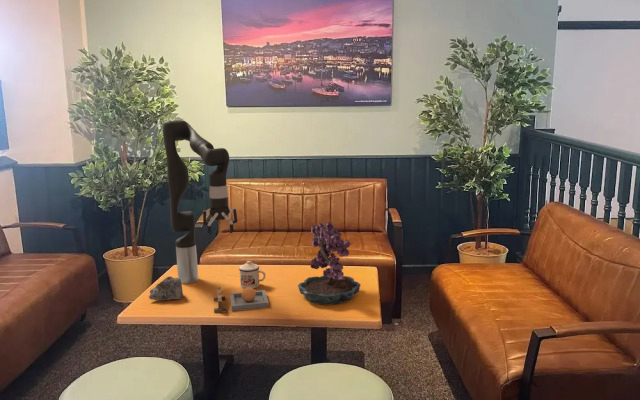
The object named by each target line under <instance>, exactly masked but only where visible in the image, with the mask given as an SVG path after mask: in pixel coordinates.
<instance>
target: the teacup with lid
mask: <svg viewBox="0 0 640 400" xmlns="http://www.w3.org/2000/svg"><path fill="white" fill-rule="evenodd" d="M238 267H239V268H238V270H239V283H240V288H242V289H243V290H244V289H245V288H247V287H251V288H253V289H256V288H258V287H259V286H260V282H264V280H265V279H266V272H265V271H263V270H259V269H260V266H259V265H258V264H256V263H254V262H252V261H251V260H247V261H246V263H244V264H242V265H240V266H238ZM260 273H261V274H262V275H263V277H262V279H260Z"/></svg>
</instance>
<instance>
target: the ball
mask: <svg viewBox="0 0 640 400" xmlns="http://www.w3.org/2000/svg"><path fill="white" fill-rule="evenodd" d="M255 291H256V290H255V288H251V287H247V288H245V289H244V288H243V289H242V291H241V292H242V294H241V295H242V298H243V300H245V301H247V302H250V301H253V300H254V299H255V297H256V292H255Z"/></svg>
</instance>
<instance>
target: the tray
mask: <svg viewBox="0 0 640 400" xmlns="http://www.w3.org/2000/svg"><path fill="white" fill-rule="evenodd" d="M255 292H256V297H255V299H254V300H253V301H250V302H247V301H245V300H243V298H242V295H241V294H242V291H239V292H230V293H229V298H230V306H231V312H235V311H244V310H245V311H247V310H256V309H257V310H258V309H265V308H270V305H269V299H268V296H267V293H266V290H265V289H263V290H255Z"/></svg>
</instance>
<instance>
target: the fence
mask: <svg viewBox="0 0 640 400" xmlns="http://www.w3.org/2000/svg"><path fill="white" fill-rule="evenodd" d="M216 289H217V296H213V301H214V302H217V307H214V308H213V313H214V314H215V313H221V312H222V313H227V311H228V308H227V306H223V302H222V301H227V298H226V295H222V288H221V287H219V286H218V287H216Z"/></svg>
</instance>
